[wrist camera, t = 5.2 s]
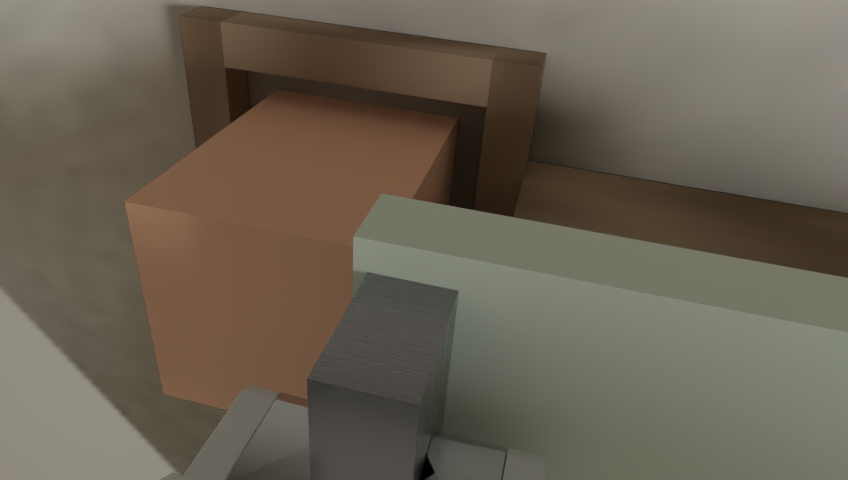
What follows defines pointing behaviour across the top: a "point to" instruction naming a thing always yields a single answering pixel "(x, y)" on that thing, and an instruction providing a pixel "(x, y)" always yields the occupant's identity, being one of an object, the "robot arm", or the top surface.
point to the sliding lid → (577, 354)
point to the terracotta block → (272, 236)
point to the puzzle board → (496, 135)
